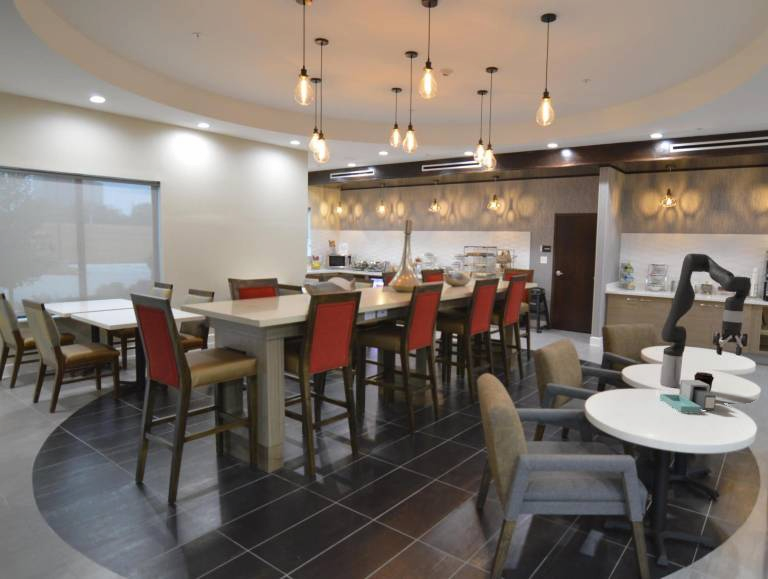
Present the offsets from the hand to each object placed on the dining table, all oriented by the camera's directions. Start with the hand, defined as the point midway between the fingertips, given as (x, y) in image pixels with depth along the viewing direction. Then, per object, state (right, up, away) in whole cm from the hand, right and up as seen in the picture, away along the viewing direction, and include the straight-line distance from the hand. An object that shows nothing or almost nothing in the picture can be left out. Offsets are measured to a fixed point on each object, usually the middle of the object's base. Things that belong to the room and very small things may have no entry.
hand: (728, 355), depth 233 cm
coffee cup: (+3, -26, +25) cm, 36 cm away
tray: (-16, -26, +11) cm, 33 cm away
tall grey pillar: (-6, -27, +12) cm, 30 cm away
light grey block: (-6, -26, +17) cm, 32 cm away
